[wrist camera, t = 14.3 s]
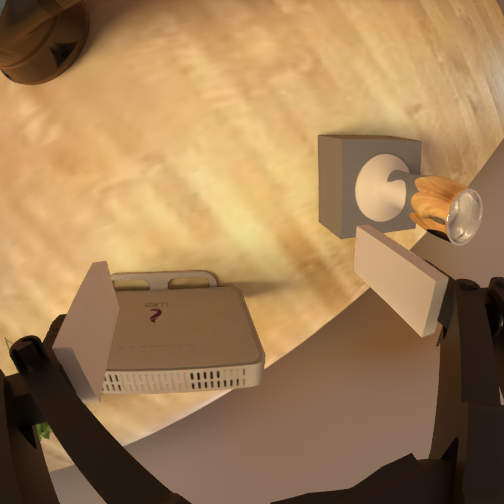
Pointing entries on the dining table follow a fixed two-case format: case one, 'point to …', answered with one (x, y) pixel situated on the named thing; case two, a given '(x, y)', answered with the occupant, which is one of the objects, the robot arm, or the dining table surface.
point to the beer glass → (432, 203)
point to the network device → (182, 338)
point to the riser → (361, 181)
